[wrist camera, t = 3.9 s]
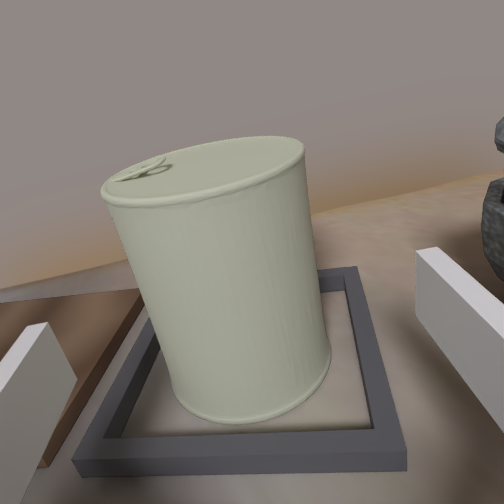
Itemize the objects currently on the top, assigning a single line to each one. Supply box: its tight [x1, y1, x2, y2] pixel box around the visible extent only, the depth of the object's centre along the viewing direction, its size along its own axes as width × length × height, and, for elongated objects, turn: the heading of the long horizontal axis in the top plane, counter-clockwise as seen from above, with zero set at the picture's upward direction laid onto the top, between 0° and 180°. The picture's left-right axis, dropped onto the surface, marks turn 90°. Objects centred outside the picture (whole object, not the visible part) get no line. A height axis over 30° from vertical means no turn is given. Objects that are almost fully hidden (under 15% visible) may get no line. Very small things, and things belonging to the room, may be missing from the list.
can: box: [101, 136, 331, 425], centre depth 20 cm, size 9×9×12 cm
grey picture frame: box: [71, 266, 407, 477], centre depth 22 cm, size 14×14×1 cm
